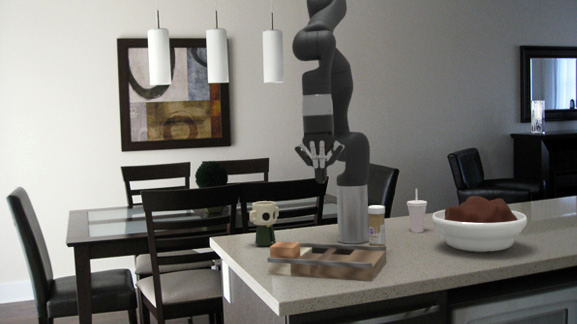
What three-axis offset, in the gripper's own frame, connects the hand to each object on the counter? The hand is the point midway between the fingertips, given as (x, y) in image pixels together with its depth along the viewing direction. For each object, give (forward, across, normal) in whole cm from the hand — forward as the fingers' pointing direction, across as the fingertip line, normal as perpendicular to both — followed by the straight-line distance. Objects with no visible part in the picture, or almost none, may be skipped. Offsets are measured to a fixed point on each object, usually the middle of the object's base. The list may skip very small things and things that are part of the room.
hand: (321, 182), depth 144 cm
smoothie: (+23, -17, -49) cm, 57 cm away
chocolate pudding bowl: (+23, -36, -28) cm, 51 cm away
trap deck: (+22, -1, -1) cm, 22 cm away
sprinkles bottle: (+22, -10, -16) cm, 30 cm away
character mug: (+22, +25, -22) cm, 40 cm away
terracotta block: (+19, +9, +3) cm, 21 cm away
